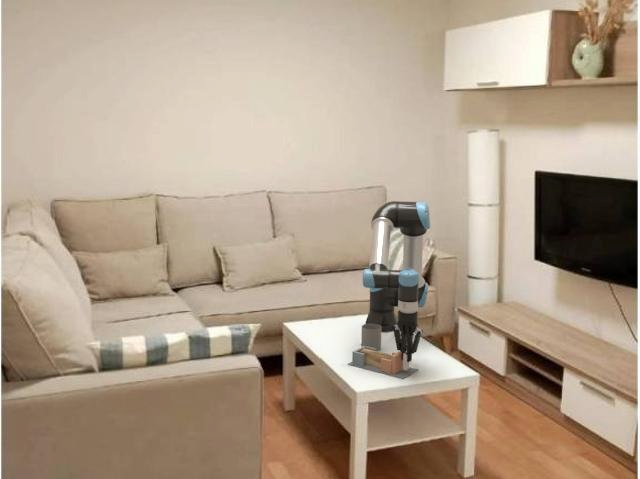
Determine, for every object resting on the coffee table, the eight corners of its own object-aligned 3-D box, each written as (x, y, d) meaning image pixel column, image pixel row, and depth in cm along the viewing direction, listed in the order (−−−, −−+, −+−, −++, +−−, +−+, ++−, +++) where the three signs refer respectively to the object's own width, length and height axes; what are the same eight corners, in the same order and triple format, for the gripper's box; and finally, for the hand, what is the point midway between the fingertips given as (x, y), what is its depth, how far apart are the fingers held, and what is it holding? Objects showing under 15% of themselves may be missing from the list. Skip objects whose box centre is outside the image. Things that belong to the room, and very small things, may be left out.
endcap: (393, 364, 298) (393, 347, 297) (406, 367, 295) (406, 350, 294) (380, 370, 291) (380, 353, 290) (393, 374, 288) (394, 357, 286)
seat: (364, 356, 308) (364, 344, 307) (418, 370, 293) (419, 357, 292) (347, 364, 299) (347, 352, 298) (403, 379, 284) (403, 365, 283)
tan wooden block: (364, 360, 303) (364, 348, 302) (396, 368, 294) (396, 356, 294) (359, 362, 300) (359, 351, 299) (391, 370, 291) (391, 358, 290)
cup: (379, 352, 313) (379, 330, 311) (360, 351, 315) (360, 328, 313) (381, 346, 321) (382, 324, 319) (363, 345, 323) (363, 323, 321)
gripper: (388, 310, 286) (386, 368, 290) (417, 315, 278) (416, 375, 283) (398, 305, 292) (396, 362, 296) (427, 311, 284) (425, 369, 289)
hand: (406, 368), depth 290 cm, fingers closed
